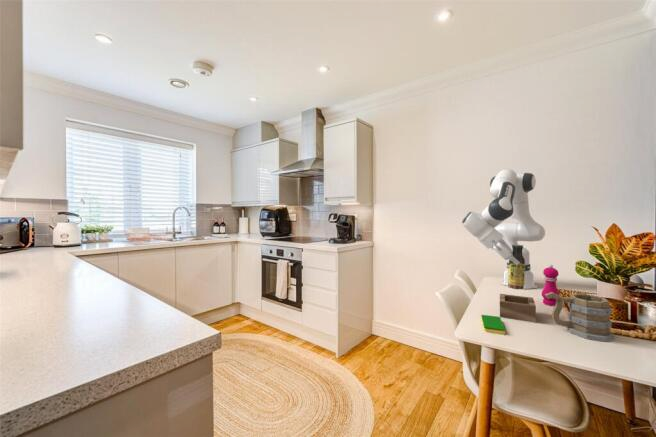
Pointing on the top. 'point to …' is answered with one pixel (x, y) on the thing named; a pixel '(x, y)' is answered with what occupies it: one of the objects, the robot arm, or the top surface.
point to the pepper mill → (550, 285)
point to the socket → (517, 308)
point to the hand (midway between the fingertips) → (518, 262)
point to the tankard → (585, 316)
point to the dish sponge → (493, 324)
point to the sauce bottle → (516, 269)
